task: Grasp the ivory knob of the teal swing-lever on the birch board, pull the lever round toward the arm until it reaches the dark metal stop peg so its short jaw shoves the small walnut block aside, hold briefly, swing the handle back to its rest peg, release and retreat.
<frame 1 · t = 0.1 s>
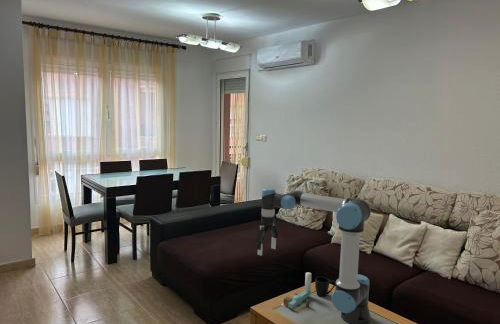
hand: (266, 251, 207), 28 cm above the table, fingers open, 13 cm apart
lever: (300, 289, 203), point 9 cm above the table, hinge at 0.0°
mug: (324, 295, 216), on the table
press base: (296, 306, 201), on the table
walnut block: (287, 305, 201), point 1 cm above the table, touching press base
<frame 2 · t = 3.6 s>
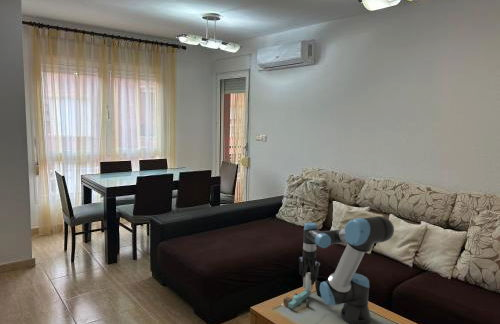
hand: (307, 288, 211), 6 cm above the table, fingers closed on lever, 3 cm apart
lever: (300, 289, 203), point 9 cm above the table, hinge at 0.0°, touching gripper
everything else where it was.
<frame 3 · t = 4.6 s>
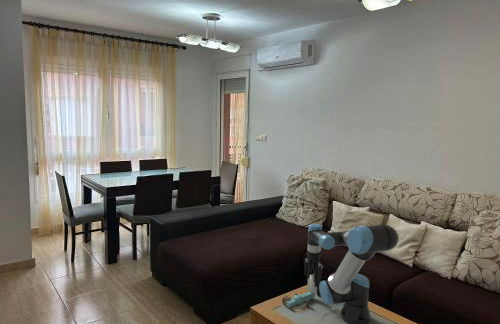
hand: (312, 290, 209), 6 cm above the table, fingers closed on lever, 3 cm apart
lever: (301, 290, 203), point 9 cm above the table, hinge at 14.2°, touching gripper
walnut block: (286, 304, 201), point 1 cm above the table
everything else where it was.
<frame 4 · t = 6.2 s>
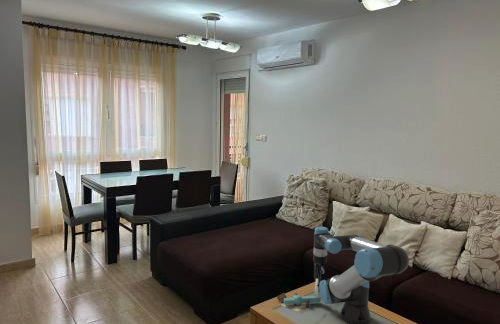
hand: (318, 294, 203), 6 cm above the table, fingers closed on lever, 3 cm apart
lever: (303, 291, 201), point 9 cm above the table, hinge at 44.4°, touching gripper
walnut block: (283, 301, 205), point 1 cm above the table, tilted 42°
everything else where it was.
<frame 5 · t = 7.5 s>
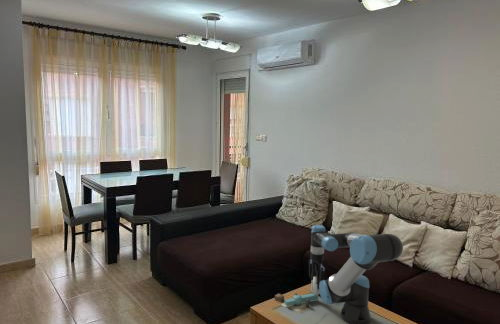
hand: (315, 292, 206), 6 cm above the table, fingers closed on lever, 3 cm apart
lever: (302, 290, 202), point 9 cm above the table, hinge at 28.6°, touching gripper
walnut block: (282, 299, 205), point 2 cm above the table, tilted 90°
everything else where it was.
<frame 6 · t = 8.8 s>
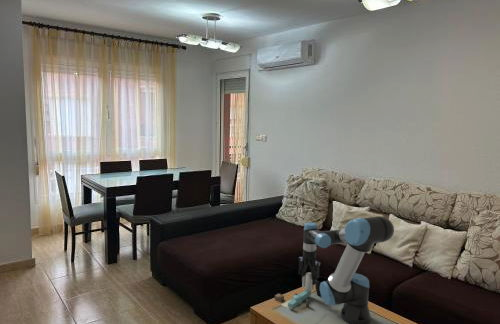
hand: (307, 288, 211), 6 cm above the table, fingers open, 5 cm apart
lever: (300, 289, 203), point 9 cm above the table, hinge at 1.0°
everything else where it was.
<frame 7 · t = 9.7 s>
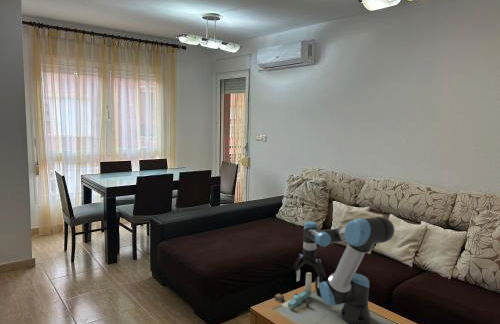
hand: (308, 283, 210), 9 cm above the table, fingers open, 13 cm apart
nothing on the table moved.
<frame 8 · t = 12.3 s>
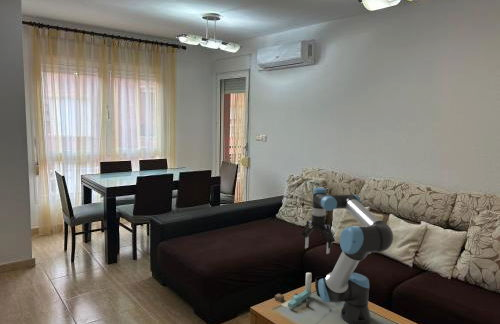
hand: (317, 250, 209), 29 cm above the table, fingers open, 13 cm apart
nothing on the table moved.
at the end: lever at +1° (first picture: +0°); walnut block moved 5.7 cm from its start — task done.
